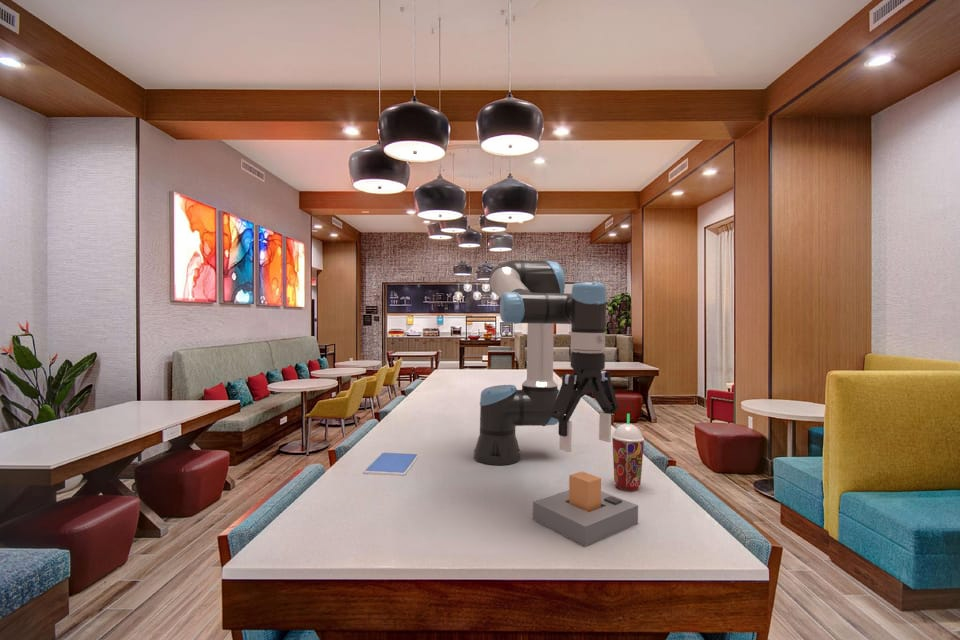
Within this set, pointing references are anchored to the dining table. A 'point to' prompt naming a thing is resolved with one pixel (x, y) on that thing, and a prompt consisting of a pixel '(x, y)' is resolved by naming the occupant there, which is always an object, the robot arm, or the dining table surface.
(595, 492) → the plug
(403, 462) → the tablet computer
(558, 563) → the dining table surface
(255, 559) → the dining table surface
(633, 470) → the smoothie
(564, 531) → the socket box
